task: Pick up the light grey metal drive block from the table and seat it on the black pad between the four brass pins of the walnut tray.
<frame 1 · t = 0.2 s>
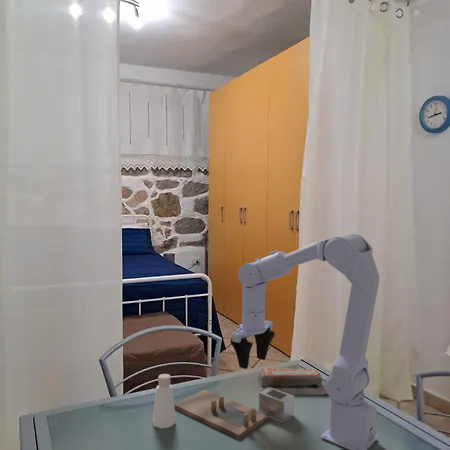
hand: (252, 363, 110), 10 cm above the table, tool pointing down, fingers open, 7 cm apart
salt shaker: (164, 423, 100), on the table
packaged product: (291, 388, 120), on the table
drive block: (276, 414, 105), on the table
walnut tray: (219, 413, 105), on the table
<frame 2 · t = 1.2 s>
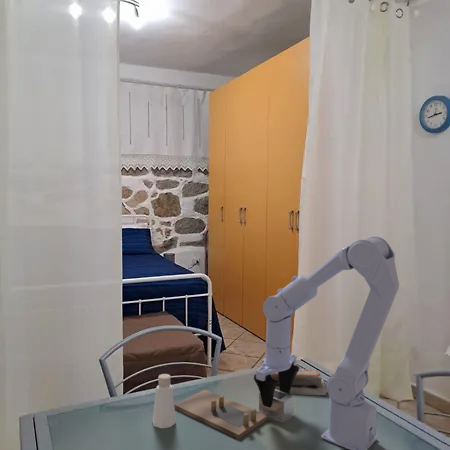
hand: (276, 400, 105), 3 cm above the table, tool pointing down, fingers open, 7 cm apart
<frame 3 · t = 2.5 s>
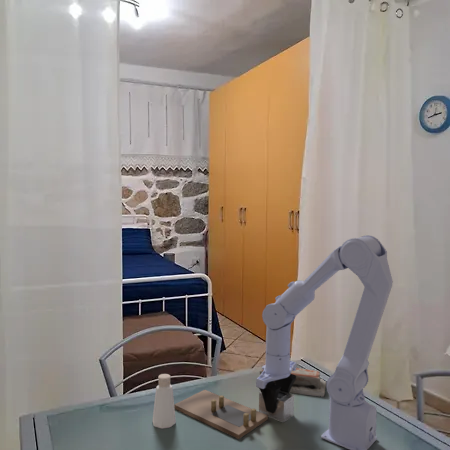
hand: (276, 407, 105), 2 cm above the table, tool pointing down, fingers closed on drive block, 4 cm apart
drive block: (276, 414, 105), on the table, touching gripper
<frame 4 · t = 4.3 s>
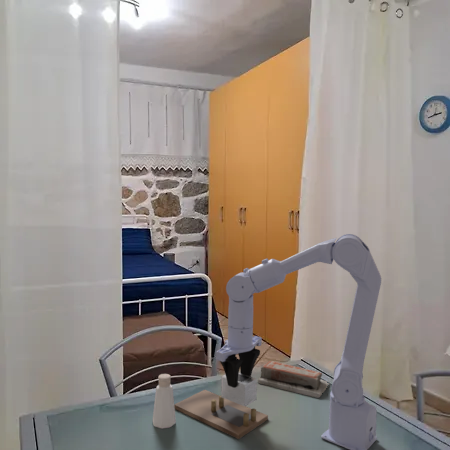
hand: (239, 382, 102), 9 cm above the table, tool pointing down, fingers closed on drive block, 4 cm apart
drive block: (238, 398, 102), point 5 cm above the table, touching gripper
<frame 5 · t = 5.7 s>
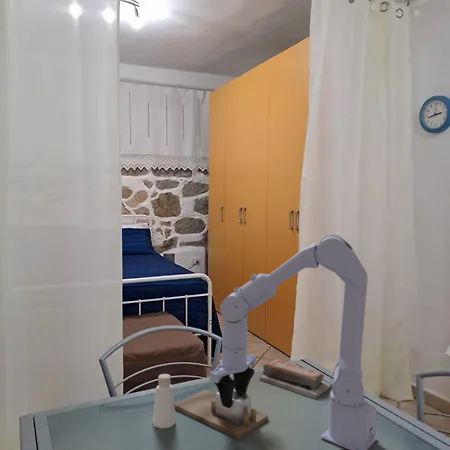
hand: (233, 402, 102), 4 cm above the table, tool pointing down, fingers closed on drive block, 4 cm apart
drive block: (233, 415, 102), point 1 cm above the table, touching gripper, walnut tray
when the fingers open (4 cm above the table, at t = 6.4 s): drive block stays where it is, resting on walnut tray.
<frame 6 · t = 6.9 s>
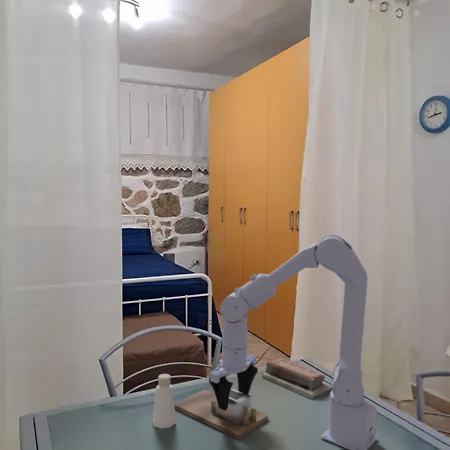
hand: (233, 402, 102), 4 cm above the table, tool pointing down, fingers open, 7 cm apart
drive block: (233, 415, 102), point 1 cm above the table, touching walnut tray
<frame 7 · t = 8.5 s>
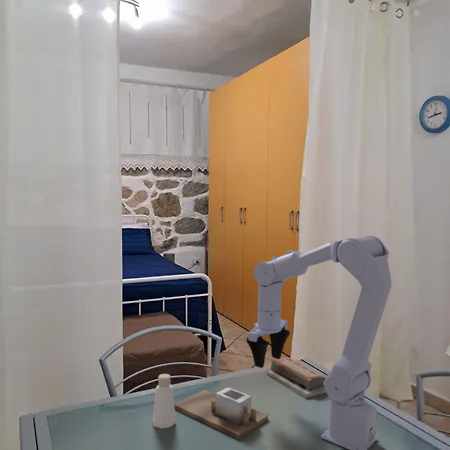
hand: (267, 362, 110), 10 cm above the table, tool pointing down, fingers open, 7 cm apart
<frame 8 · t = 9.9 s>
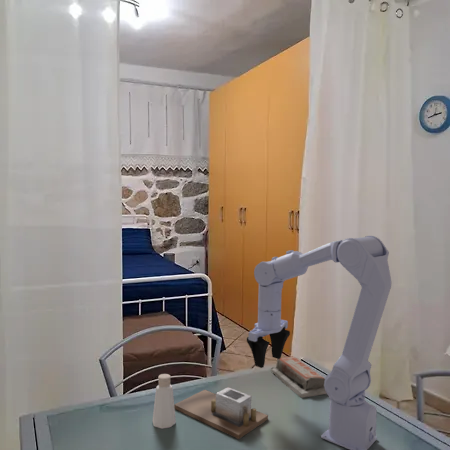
hand: (268, 362, 110), 10 cm above the table, tool pointing down, fingers open, 7 cm apart
at the end: drive block 0.0 cm from the target spot on the walnut tray, point 1.0 cm above the walnut tray's base; drive block tilted 0°; the gripper is holding nothing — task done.
